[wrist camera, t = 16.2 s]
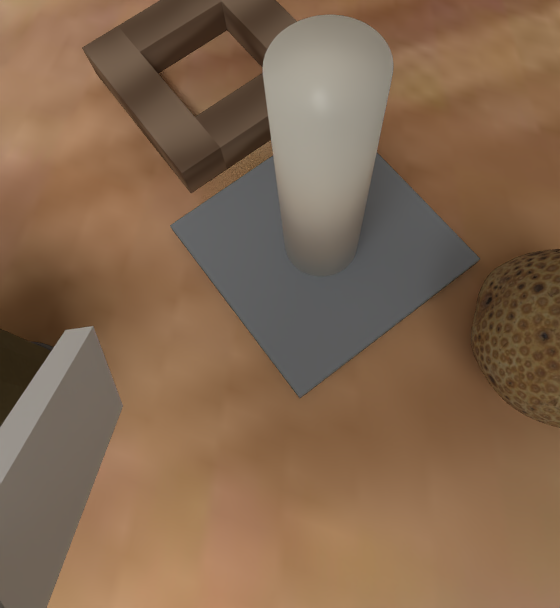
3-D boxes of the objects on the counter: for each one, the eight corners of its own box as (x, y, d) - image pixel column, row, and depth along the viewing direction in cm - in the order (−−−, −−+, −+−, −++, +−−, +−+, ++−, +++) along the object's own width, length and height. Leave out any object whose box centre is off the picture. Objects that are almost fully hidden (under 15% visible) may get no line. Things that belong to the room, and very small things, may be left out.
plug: (372, 248, 32) (420, 72, 17) (314, 290, 31) (315, 144, 17) (326, 197, 33) (337, -6, 19) (270, 237, 32) (237, 59, 18)
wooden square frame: (340, 92, 36) (342, 66, 34) (190, 193, 34) (181, 173, 32) (236, -13, 40) (231, -43, 37) (96, 73, 38) (82, 47, 36)
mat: (477, 262, 32) (480, 258, 31) (299, 398, 30) (299, 397, 29) (337, 117, 36) (337, 111, 35) (172, 229, 34) (169, 225, 33)
